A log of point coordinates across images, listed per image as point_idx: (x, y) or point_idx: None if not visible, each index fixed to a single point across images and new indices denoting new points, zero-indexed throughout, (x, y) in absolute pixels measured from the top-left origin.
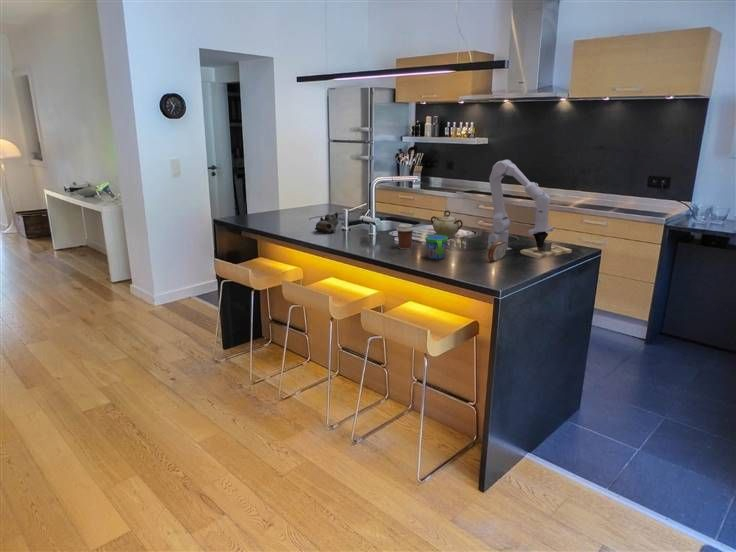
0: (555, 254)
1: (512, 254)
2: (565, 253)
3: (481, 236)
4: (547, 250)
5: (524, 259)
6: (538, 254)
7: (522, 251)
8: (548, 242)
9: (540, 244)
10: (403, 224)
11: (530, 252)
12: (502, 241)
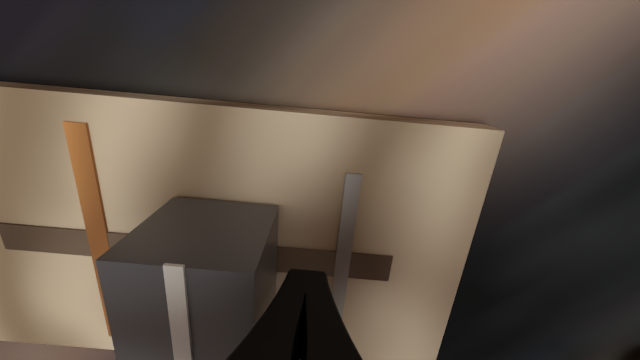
0: (194, 100)
1: (509, 356)
2: (25, 84)
3: None
4: (233, 204)
5: (612, 193)
6: (448, 169)
7: (435, 346)
8: (155, 287)
9: (334, 302)
10: None
11: (435, 275)
12: None
